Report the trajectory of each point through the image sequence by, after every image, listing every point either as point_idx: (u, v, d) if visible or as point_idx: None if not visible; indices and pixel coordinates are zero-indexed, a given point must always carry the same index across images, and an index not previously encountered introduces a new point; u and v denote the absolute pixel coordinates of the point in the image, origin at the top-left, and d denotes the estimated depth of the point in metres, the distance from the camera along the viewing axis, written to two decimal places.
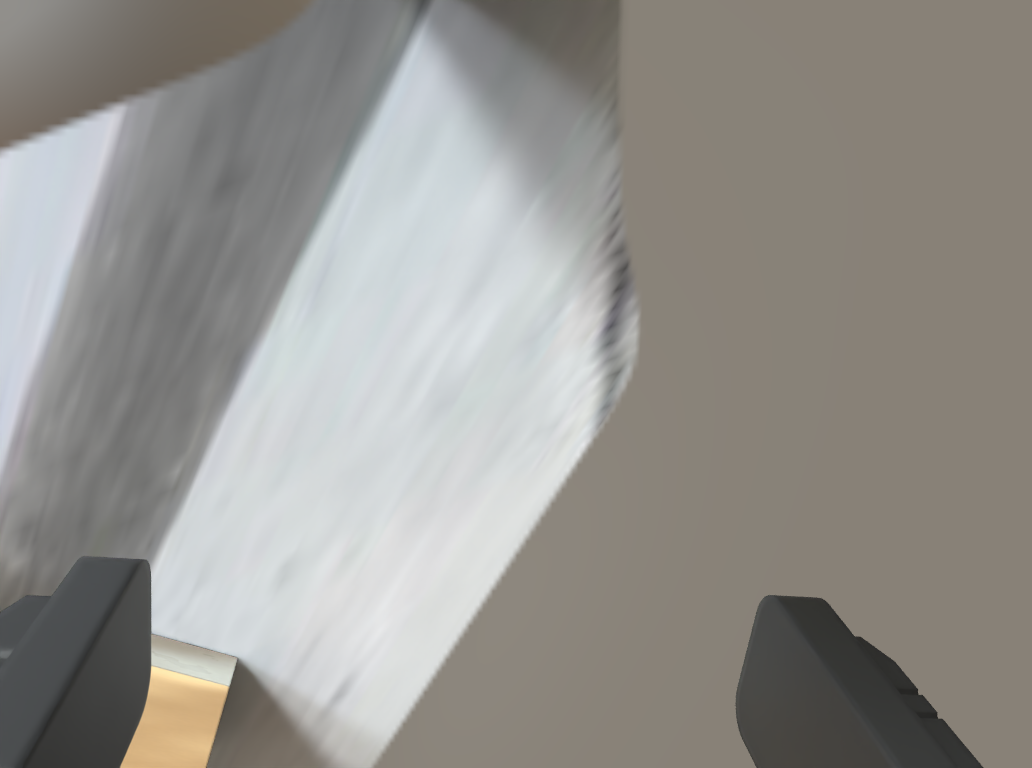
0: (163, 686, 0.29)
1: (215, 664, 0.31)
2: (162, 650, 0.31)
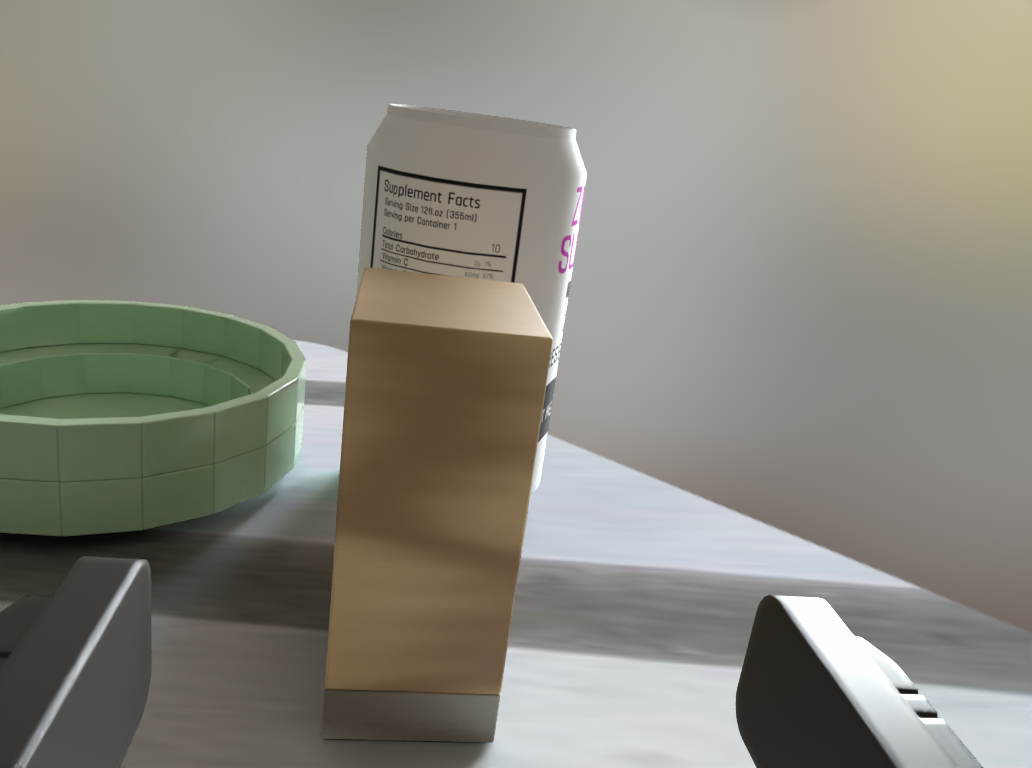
0: None
1: None
2: None
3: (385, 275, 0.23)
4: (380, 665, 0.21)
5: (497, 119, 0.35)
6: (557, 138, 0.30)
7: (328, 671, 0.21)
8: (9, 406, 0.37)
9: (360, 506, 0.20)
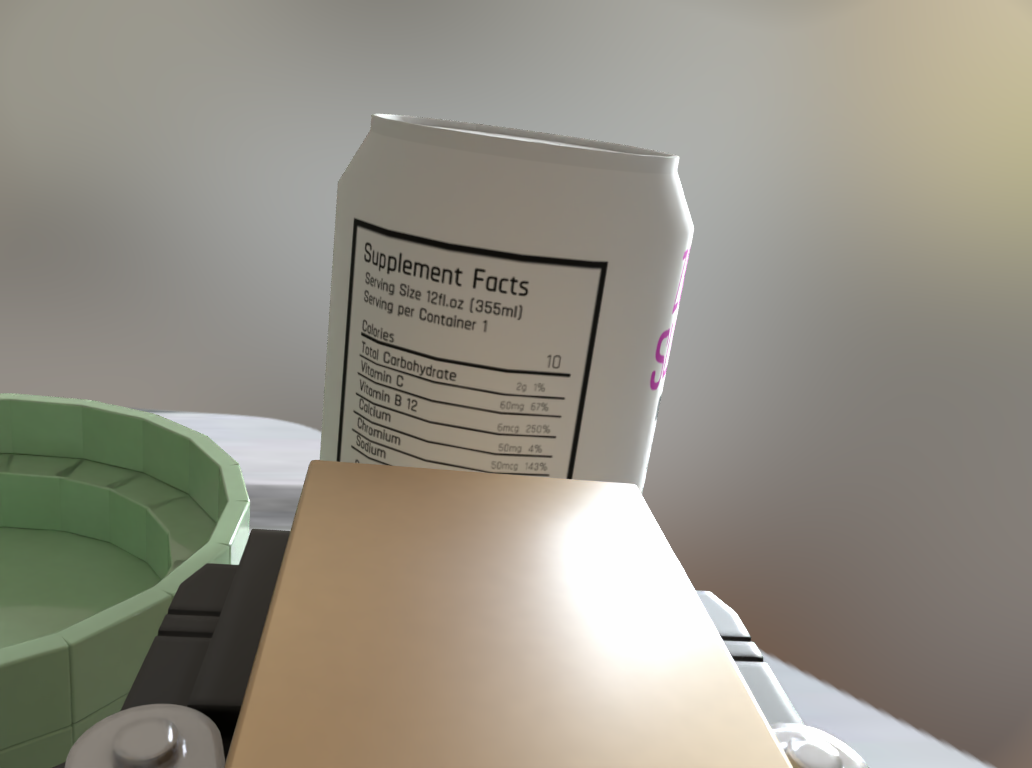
0: None
1: None
2: None
3: (352, 490, 0.10)
4: None
5: (542, 137, 0.23)
6: (656, 174, 0.18)
7: None
8: None
9: None
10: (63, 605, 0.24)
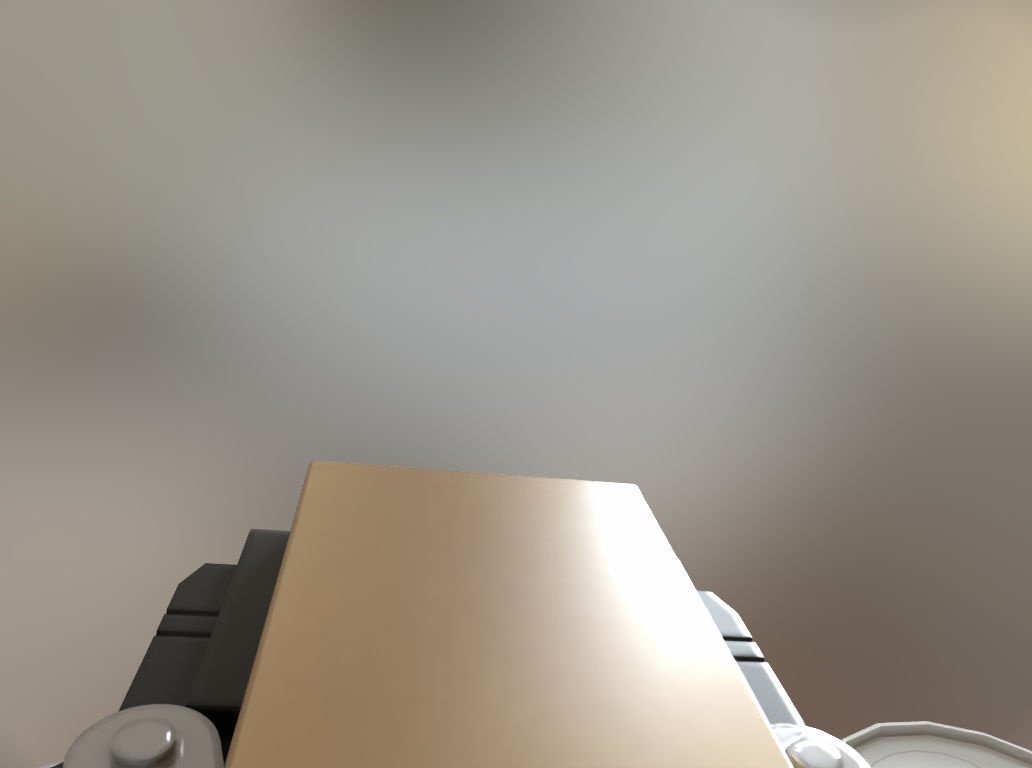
0: None
1: None
2: None
3: (351, 491, 0.10)
4: None
5: (955, 733, 0.19)
6: None
7: None
8: None
9: None
10: None
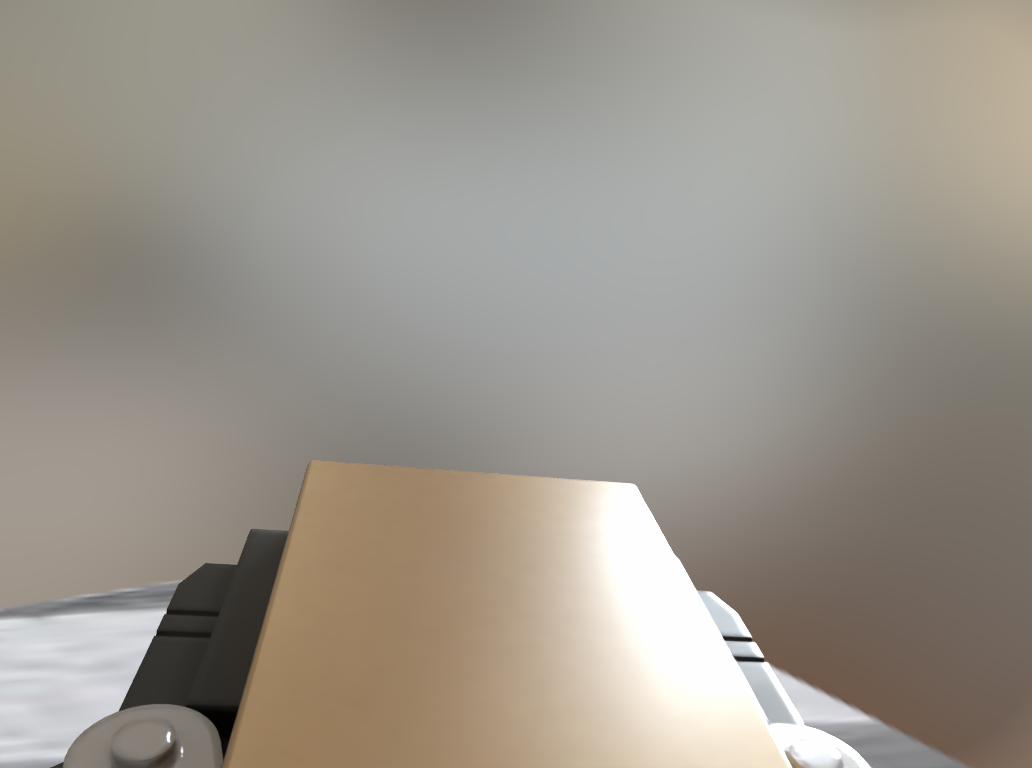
0: None
1: None
2: None
3: (350, 491, 0.10)
4: None
5: None
6: None
7: None
8: None
9: None
10: None
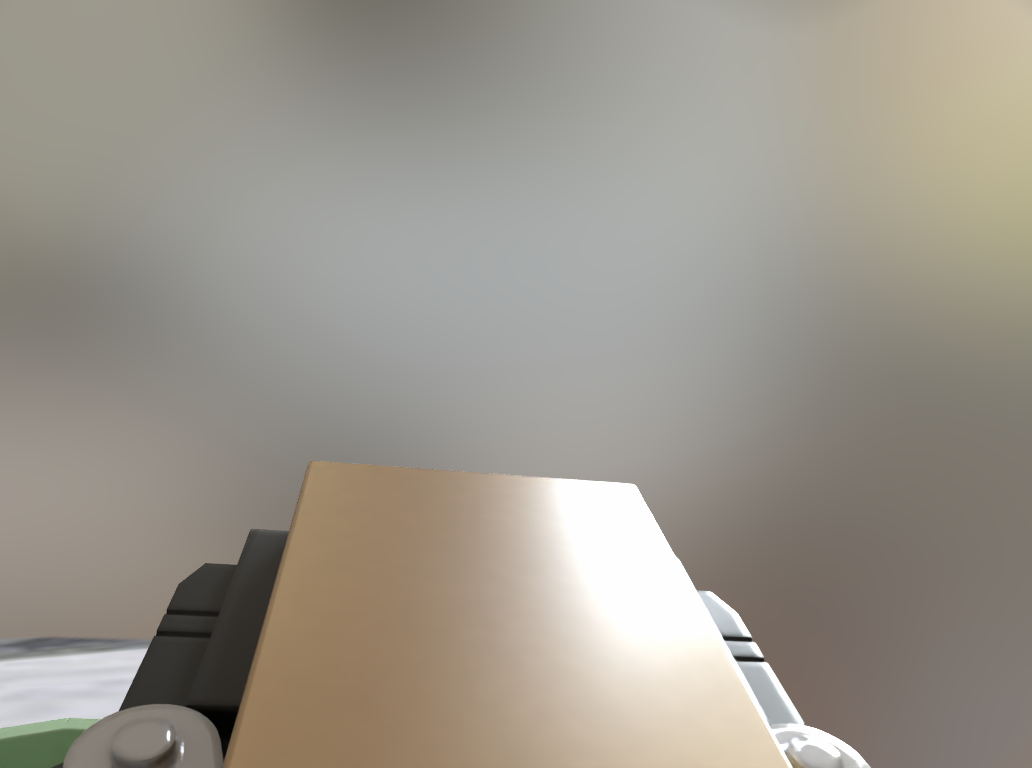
0: None
1: None
2: None
3: (350, 491, 0.10)
4: None
5: None
6: None
7: None
8: None
9: None
10: None
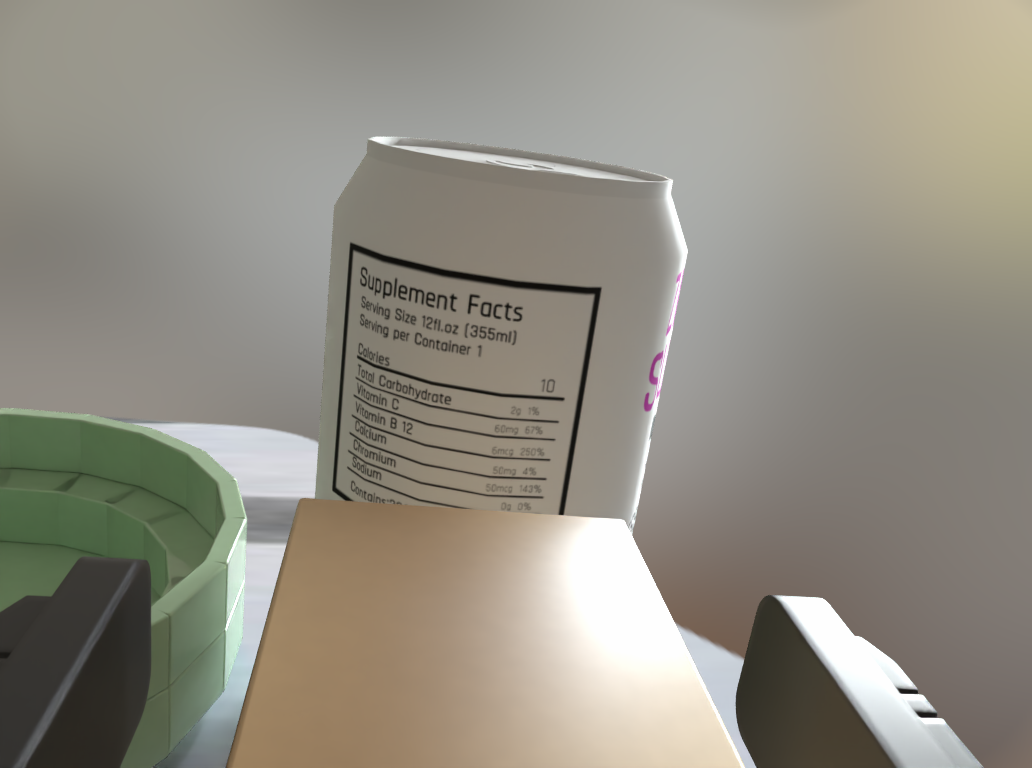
0: None
1: None
2: None
3: (340, 531, 0.10)
4: None
5: (538, 157, 0.23)
6: (649, 199, 0.18)
7: None
8: None
9: None
10: None
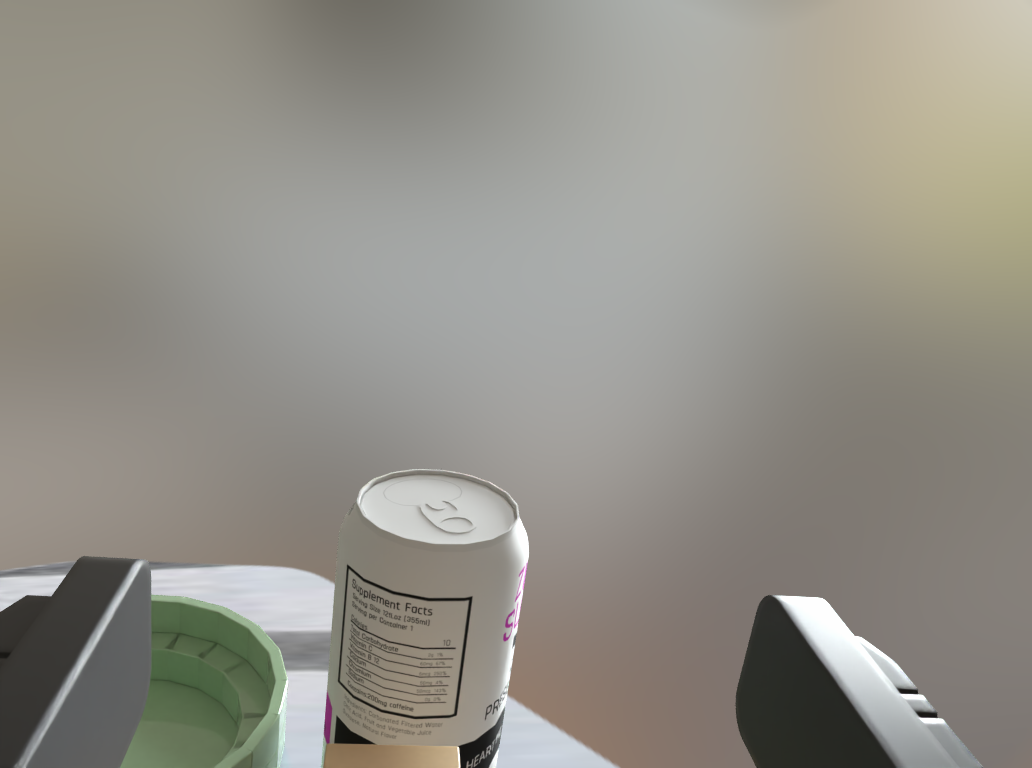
0: None
1: None
2: None
3: (342, 762, 0.27)
4: None
5: (455, 475, 0.40)
6: (500, 542, 0.35)
7: None
8: None
9: None
10: (178, 737, 0.41)
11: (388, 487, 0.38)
